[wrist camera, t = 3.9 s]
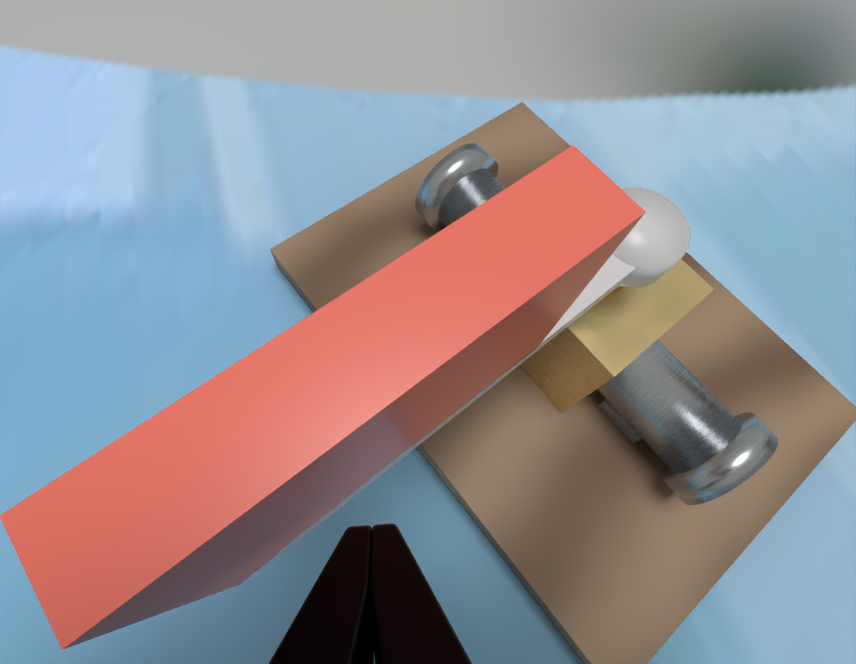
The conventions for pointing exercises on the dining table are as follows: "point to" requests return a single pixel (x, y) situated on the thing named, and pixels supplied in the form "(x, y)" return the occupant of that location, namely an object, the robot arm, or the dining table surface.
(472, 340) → the valve lever
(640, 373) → the ball valve
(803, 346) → the dining table surface
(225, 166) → the dining table surface
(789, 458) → the mounting board
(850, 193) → the dining table surface
